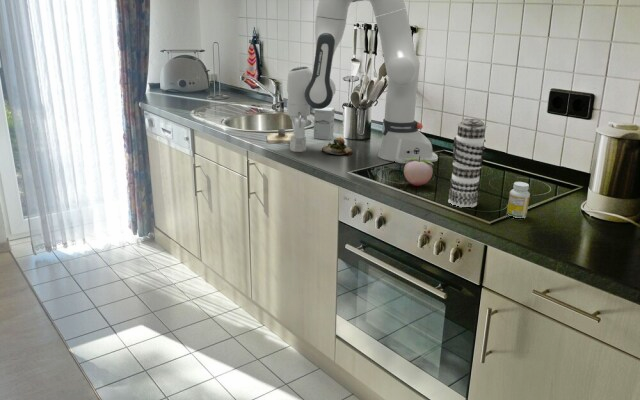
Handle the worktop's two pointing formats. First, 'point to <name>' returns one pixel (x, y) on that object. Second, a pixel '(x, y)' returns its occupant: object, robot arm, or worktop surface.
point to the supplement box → (324, 123)
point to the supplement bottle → (518, 200)
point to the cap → (293, 145)
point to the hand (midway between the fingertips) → (298, 145)
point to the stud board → (279, 137)
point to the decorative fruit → (418, 171)
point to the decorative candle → (467, 163)
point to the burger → (337, 147)
